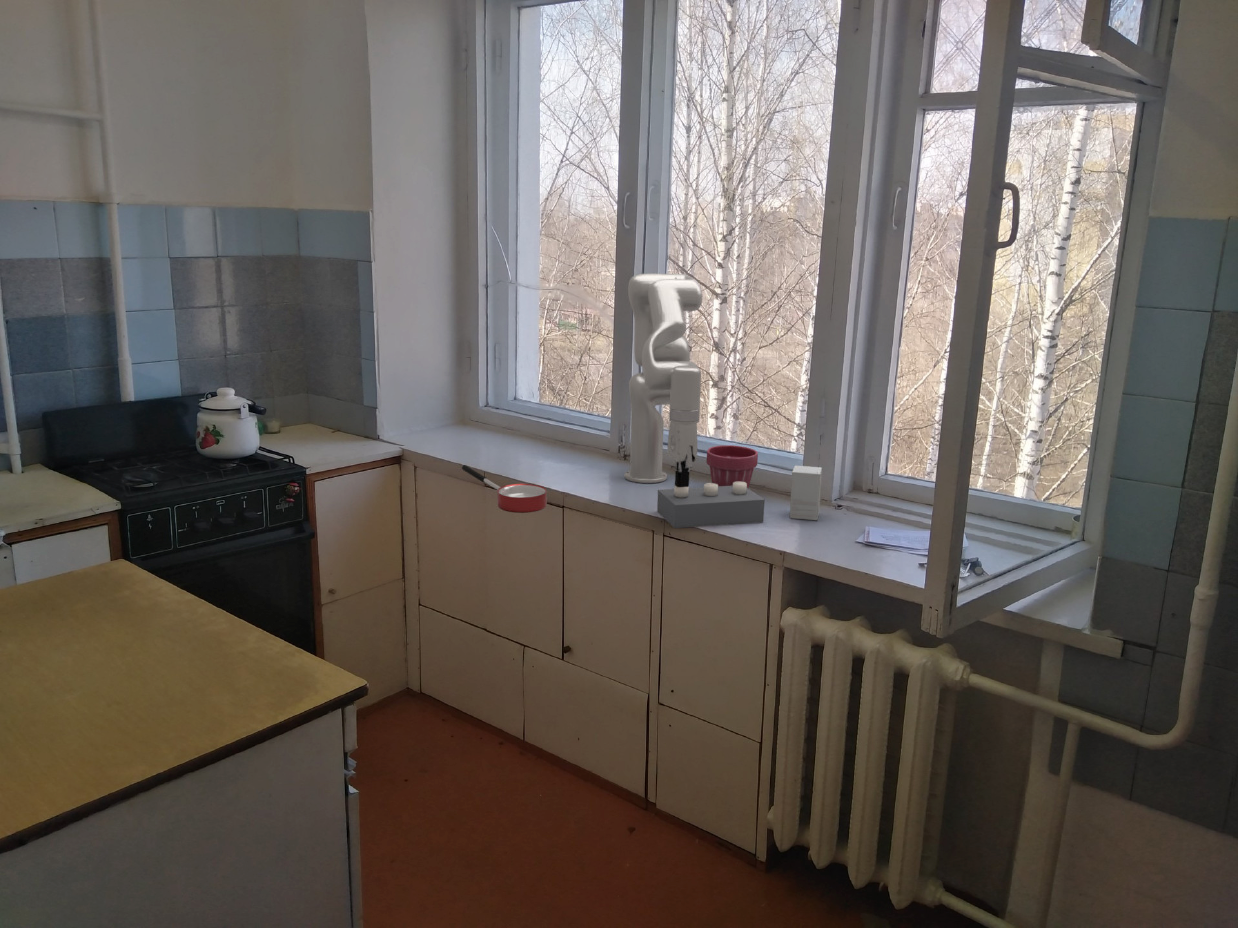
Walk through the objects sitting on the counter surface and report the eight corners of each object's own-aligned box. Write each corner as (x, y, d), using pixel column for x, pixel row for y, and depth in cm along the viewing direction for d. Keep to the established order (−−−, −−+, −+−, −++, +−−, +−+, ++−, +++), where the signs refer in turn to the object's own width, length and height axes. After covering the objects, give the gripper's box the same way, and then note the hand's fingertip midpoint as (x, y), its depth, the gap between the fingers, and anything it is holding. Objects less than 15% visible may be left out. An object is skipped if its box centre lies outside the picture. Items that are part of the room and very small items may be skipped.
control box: (657, 511, 251) (657, 489, 249) (742, 506, 257) (743, 485, 256) (674, 528, 238) (675, 505, 236) (763, 522, 244) (764, 499, 243)
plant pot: (746, 505, 259) (749, 459, 255) (697, 498, 264) (699, 453, 261) (761, 492, 271) (764, 448, 268) (714, 485, 277) (716, 442, 274)
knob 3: (729, 507, 250) (730, 481, 249) (742, 507, 251) (743, 481, 250) (734, 511, 247) (736, 485, 245) (747, 511, 248) (749, 484, 246)
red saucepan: (439, 492, 264) (439, 470, 262) (474, 483, 274) (474, 462, 272) (522, 516, 245) (522, 492, 243) (556, 505, 254) (557, 482, 253)
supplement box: (819, 513, 253) (823, 467, 250) (817, 521, 246) (821, 473, 243) (791, 510, 255) (794, 464, 252) (788, 518, 248) (791, 471, 245)
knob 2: (700, 509, 248) (702, 483, 247) (713, 508, 249) (715, 482, 248) (705, 513, 245) (706, 487, 243) (718, 512, 246) (720, 486, 244)
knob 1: (671, 511, 246) (672, 484, 244) (684, 510, 247) (685, 483, 245) (676, 515, 243) (677, 488, 241) (689, 514, 244) (690, 487, 242)
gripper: (660, 410, 245) (658, 479, 249) (680, 421, 231) (677, 494, 235) (688, 409, 247) (685, 478, 251) (709, 420, 233) (706, 493, 237)
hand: (681, 486), depth 243 cm, fingers closed
